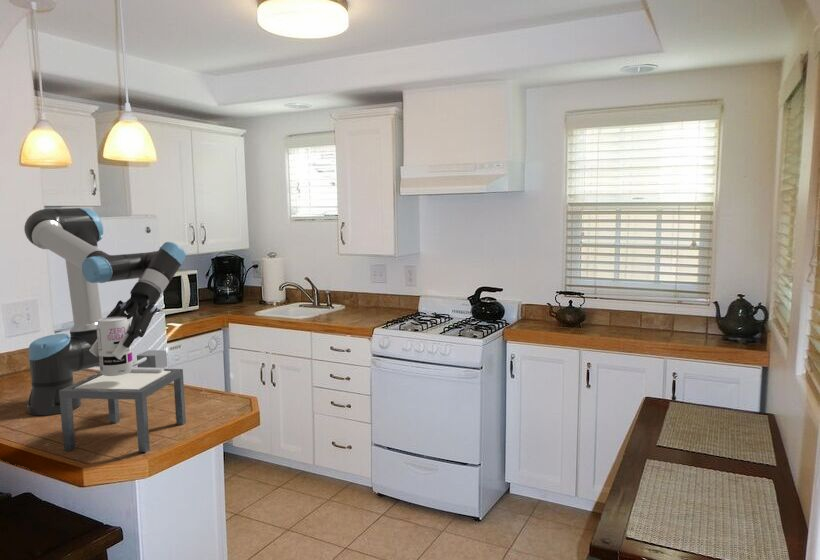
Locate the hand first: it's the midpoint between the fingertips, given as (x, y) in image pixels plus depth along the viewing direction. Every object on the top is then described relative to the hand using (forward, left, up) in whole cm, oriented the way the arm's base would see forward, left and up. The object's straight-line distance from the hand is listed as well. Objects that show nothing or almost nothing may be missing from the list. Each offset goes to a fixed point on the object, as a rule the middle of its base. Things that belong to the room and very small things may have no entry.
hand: (104, 355), depth 164 cm
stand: (+1, +7, -25) cm, 26 cm away
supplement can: (+1, +3, -6) cm, 7 cm away
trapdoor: (+1, +15, -12) cm, 19 cm away
